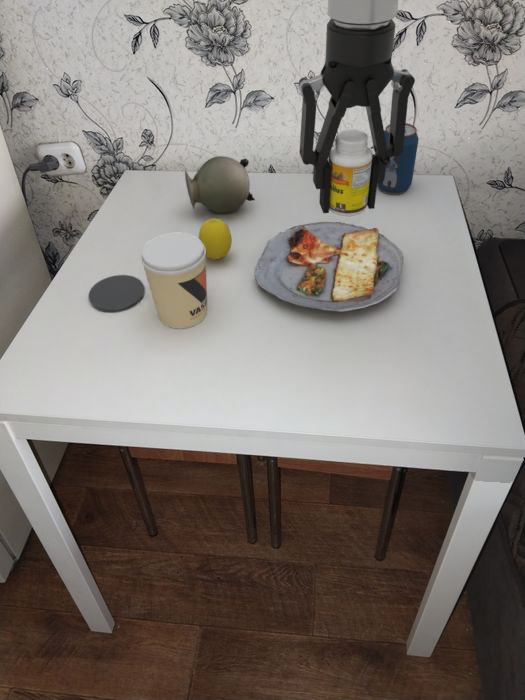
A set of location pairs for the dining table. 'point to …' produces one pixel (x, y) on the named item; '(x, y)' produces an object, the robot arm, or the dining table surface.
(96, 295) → the slate coaster
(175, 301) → the coffee cup
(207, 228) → the lemon
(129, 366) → the dining table surface
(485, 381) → the dining table surface
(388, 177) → the soda can
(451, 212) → the dining table surface
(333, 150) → the supplement bottle
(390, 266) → the food plate
